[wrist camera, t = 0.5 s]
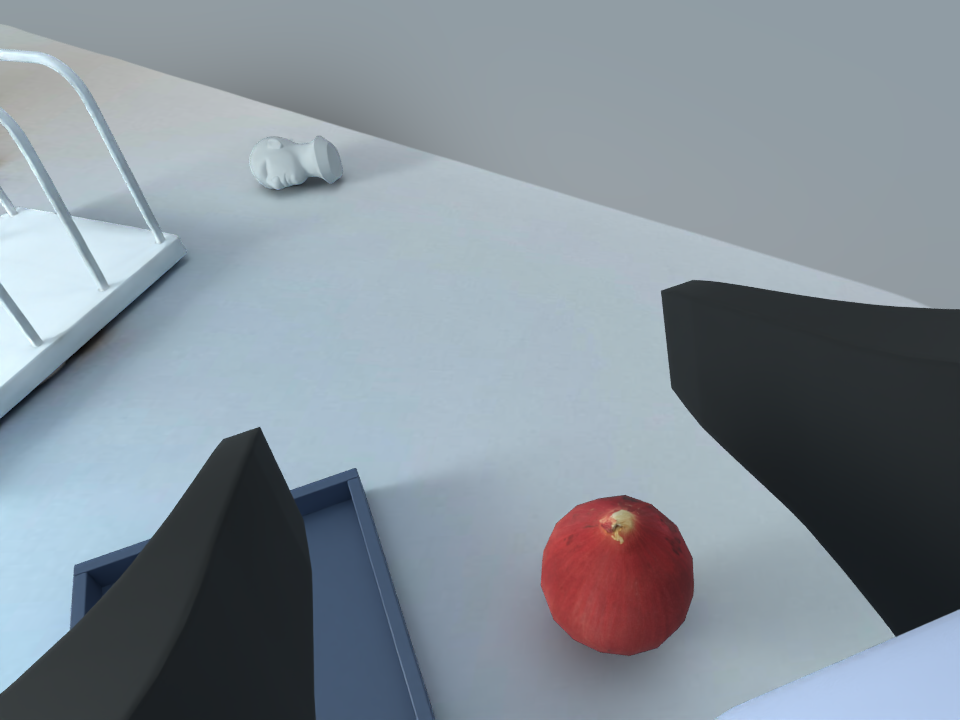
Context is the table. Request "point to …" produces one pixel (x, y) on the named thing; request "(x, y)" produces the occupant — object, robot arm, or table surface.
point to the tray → (328, 607)
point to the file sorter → (66, 262)
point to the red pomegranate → (617, 575)
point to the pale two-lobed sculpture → (294, 162)
